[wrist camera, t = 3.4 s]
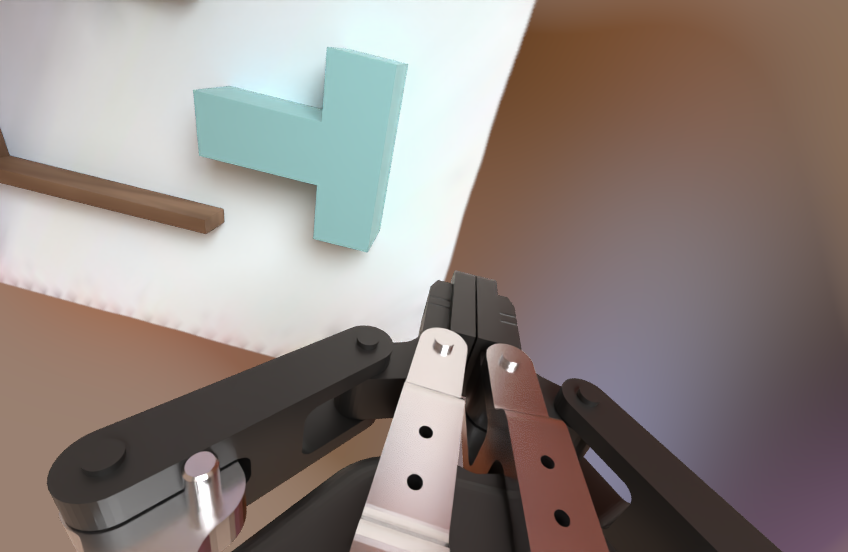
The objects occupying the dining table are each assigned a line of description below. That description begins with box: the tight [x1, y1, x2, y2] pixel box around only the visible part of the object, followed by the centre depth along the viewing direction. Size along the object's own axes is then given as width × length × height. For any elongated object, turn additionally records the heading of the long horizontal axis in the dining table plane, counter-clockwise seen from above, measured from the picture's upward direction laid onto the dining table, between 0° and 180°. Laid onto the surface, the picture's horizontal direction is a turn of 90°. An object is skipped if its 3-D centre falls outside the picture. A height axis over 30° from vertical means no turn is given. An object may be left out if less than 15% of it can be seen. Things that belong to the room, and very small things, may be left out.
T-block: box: [193, 47, 408, 252], centre depth 26 cm, size 12×12×4 cm
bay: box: [0, 130, 224, 234], centre depth 26 cm, size 17×19×2 cm
